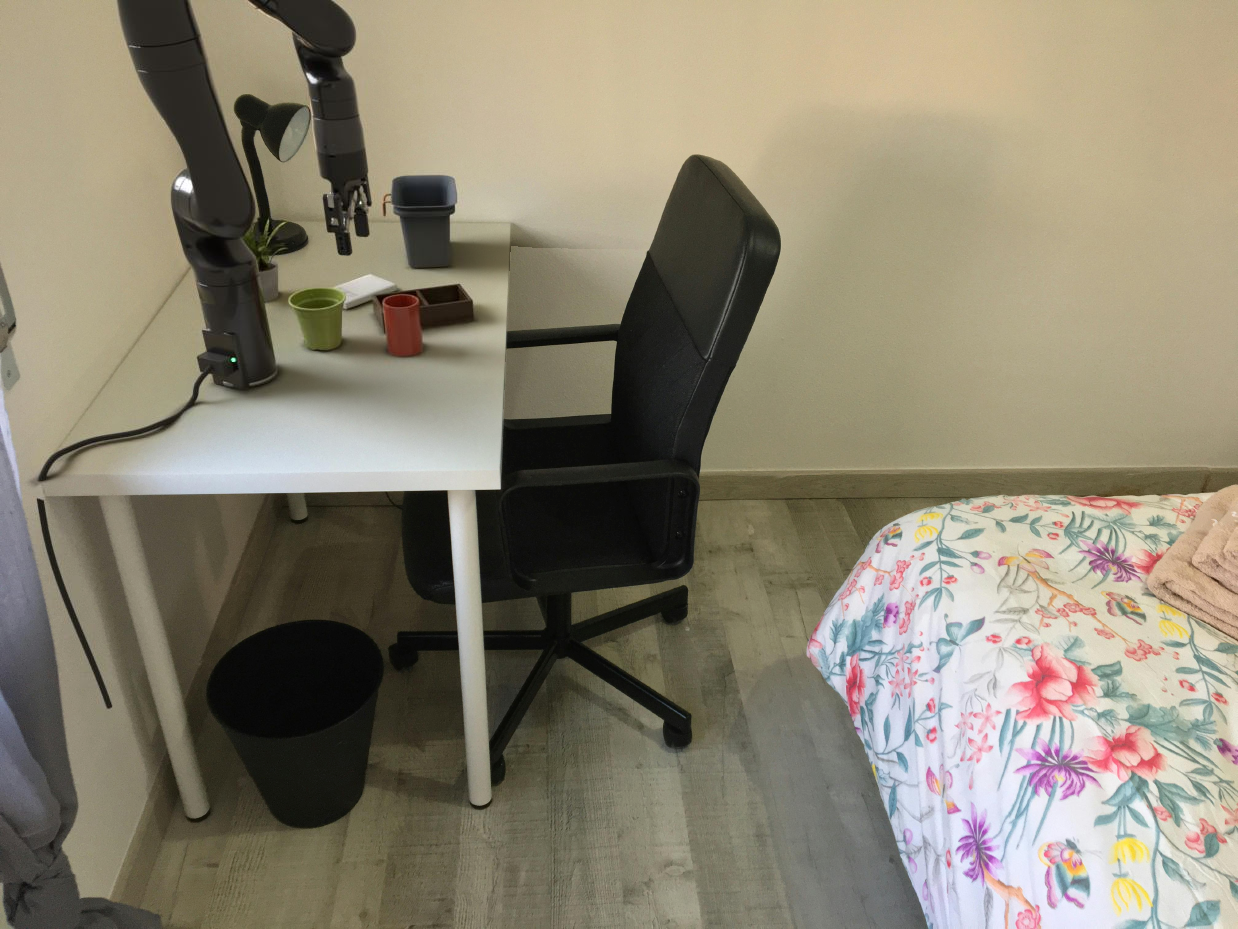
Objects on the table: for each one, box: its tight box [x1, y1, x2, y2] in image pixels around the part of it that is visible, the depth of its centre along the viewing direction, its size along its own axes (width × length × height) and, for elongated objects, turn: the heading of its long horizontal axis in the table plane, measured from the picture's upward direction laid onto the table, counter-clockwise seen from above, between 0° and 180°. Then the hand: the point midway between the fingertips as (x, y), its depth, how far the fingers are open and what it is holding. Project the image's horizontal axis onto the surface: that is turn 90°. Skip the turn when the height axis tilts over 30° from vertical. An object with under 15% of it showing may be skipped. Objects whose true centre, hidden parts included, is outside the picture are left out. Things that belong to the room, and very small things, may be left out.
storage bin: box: [381, 174, 458, 269], centre depth 194 cm, size 21×16×14 cm
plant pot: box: [288, 286, 346, 351], centre depth 157 cm, size 9×9×9 cm
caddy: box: [371, 283, 475, 335], centre depth 169 cm, size 9×17×4 cm, turn 115°
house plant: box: [241, 218, 289, 302], centre depth 171 cm, size 14×14×16 cm
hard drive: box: [332, 273, 398, 310], centre depth 178 cm, size 2×8×12 cm
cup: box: [382, 294, 424, 357], centre depth 157 cm, size 6×6×9 cm
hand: (354, 245), depth 150 cm, fingers open, 8 cm apart
